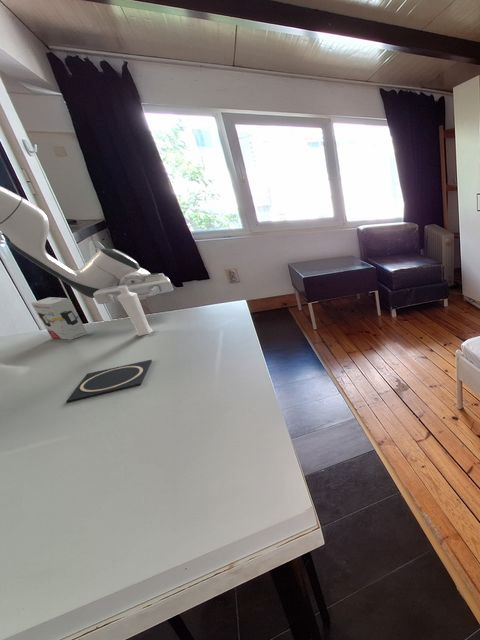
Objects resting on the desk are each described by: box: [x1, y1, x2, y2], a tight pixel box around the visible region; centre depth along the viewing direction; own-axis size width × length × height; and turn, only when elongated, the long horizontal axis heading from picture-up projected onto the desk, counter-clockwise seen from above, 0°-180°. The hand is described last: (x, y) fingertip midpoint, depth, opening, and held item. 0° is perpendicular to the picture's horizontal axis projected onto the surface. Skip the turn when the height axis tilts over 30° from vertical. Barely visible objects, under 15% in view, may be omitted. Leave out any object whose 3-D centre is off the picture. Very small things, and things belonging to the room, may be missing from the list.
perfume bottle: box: [117, 286, 154, 337], centre depth 110 cm, size 5×4×15 cm
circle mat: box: [66, 359, 153, 403], centre depth 88 cm, size 13×14×1 cm
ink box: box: [30, 296, 89, 341], centre depth 111 cm, size 9×5×12 cm, turn 76°
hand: (134, 296), depth 117 cm, fingers open, 8 cm apart
